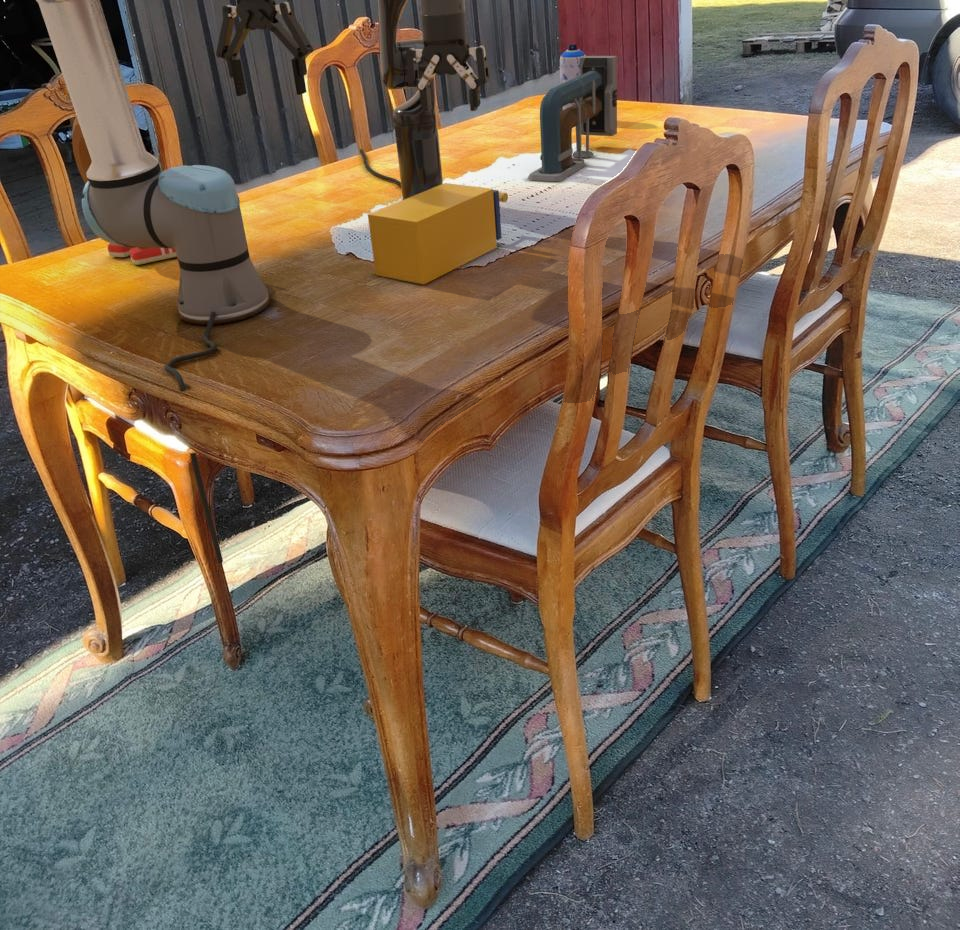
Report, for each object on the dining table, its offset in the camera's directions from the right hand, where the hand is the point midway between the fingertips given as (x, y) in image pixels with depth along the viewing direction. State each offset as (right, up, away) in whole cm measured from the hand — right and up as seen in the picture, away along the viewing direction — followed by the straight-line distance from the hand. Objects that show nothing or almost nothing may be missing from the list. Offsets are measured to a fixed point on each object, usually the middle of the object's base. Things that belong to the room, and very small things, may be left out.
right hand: (451, 110), depth 171 cm
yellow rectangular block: (-3, -25, +9) cm, 26 cm away
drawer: (+1, -21, +13) cm, 25 cm away
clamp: (+28, +11, +65) cm, 71 cm away
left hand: (-37, +11, +22) cm, 44 cm away
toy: (-63, -20, +25) cm, 71 cm away
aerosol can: (+32, +37, +107) cm, 118 cm away
